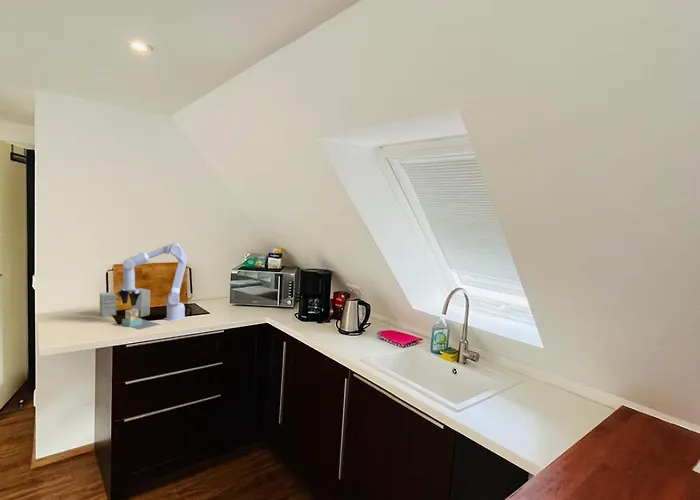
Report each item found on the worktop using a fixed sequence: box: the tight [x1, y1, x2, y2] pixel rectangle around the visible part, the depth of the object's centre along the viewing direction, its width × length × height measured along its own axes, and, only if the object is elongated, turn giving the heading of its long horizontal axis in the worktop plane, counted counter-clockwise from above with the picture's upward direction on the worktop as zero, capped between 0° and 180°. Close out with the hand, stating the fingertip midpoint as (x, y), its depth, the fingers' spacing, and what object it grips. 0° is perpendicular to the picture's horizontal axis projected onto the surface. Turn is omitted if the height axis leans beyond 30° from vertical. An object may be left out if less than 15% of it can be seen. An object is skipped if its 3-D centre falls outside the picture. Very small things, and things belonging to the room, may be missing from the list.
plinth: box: [121, 317, 143, 328], centre depth 230 cm, size 7×7×3 cm
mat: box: [120, 318, 161, 330], centre depth 231 cm, size 13×16×1 cm
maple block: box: [124, 308, 139, 321], centre depth 229 cm, size 4×4×5 cm
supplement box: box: [99, 291, 117, 317], centre depth 248 cm, size 7×7×13 cm
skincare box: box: [131, 287, 151, 318], centre depth 249 cm, size 8×7×16 cm
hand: (129, 304), depth 235 cm, fingers open, 7 cm apart
